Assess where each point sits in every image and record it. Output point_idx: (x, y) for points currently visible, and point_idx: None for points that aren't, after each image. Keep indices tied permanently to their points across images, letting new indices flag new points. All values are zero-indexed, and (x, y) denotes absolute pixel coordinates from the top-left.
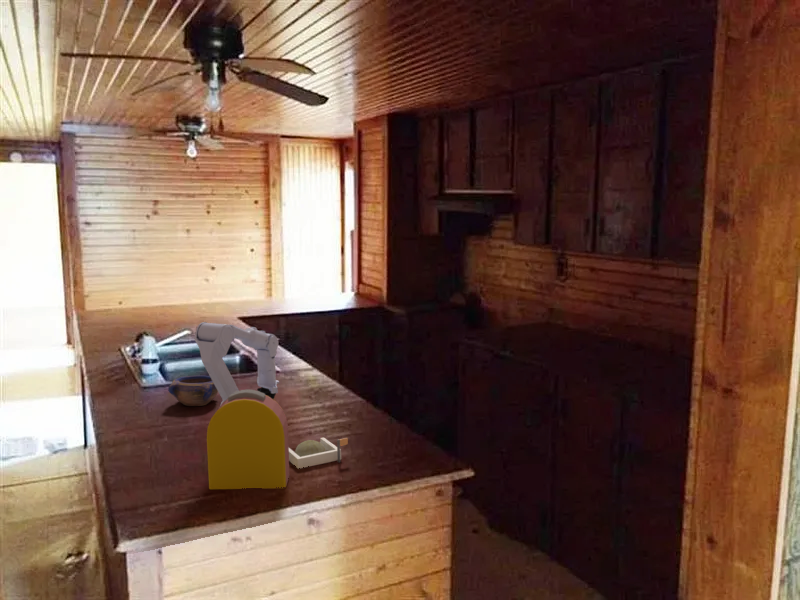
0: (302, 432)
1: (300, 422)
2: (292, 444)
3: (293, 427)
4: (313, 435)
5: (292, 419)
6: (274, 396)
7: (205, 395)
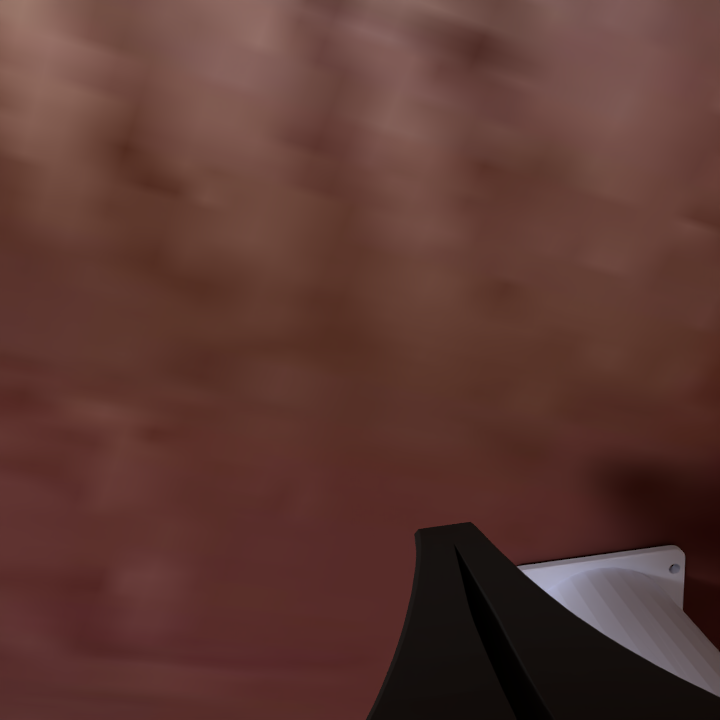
0: (425, 118)
1: (127, 50)
2: (661, 282)
3: (255, 163)
4: (550, 37)
5: (7, 107)
6: (637, 654)
7: None
